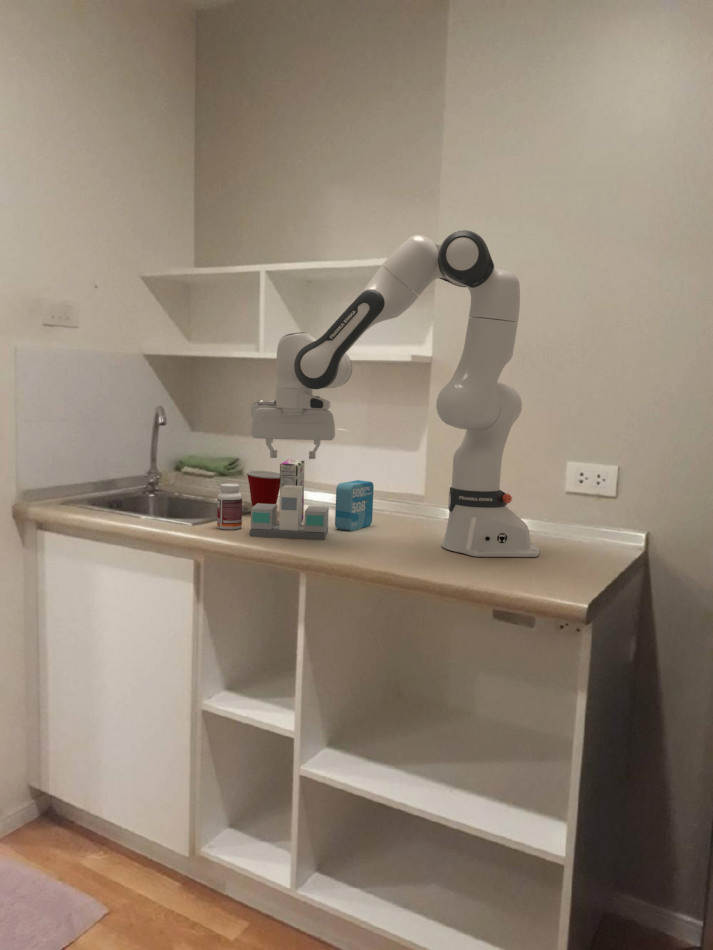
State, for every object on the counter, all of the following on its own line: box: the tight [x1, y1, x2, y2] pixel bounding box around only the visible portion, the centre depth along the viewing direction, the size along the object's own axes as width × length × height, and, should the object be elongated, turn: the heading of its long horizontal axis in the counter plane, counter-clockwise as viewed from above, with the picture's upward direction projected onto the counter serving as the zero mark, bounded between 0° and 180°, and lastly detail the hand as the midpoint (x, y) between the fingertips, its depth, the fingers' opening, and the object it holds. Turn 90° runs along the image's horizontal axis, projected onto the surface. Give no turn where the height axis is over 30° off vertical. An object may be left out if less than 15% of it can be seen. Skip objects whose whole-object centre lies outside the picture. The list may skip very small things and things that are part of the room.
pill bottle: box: [216, 483, 243, 531], centre depth 187 cm, size 6×6×11 cm
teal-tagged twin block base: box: [249, 503, 330, 541], centre depth 183 cm, size 18×10×7 cm, turn 87°
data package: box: [334, 479, 375, 532], centre depth 195 cm, size 12×4×12 cm, turn 150°
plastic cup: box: [245, 469, 280, 508], centre depth 209 cm, size 11×11×12 cm
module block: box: [278, 485, 303, 531], centre depth 182 cm, size 4×7×10 cm, turn 177°
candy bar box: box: [278, 458, 305, 522], centre depth 198 cm, size 11×5×16 cm, turn 174°
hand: (292, 458), depth 181 cm, fingers open, 8 cm apart
